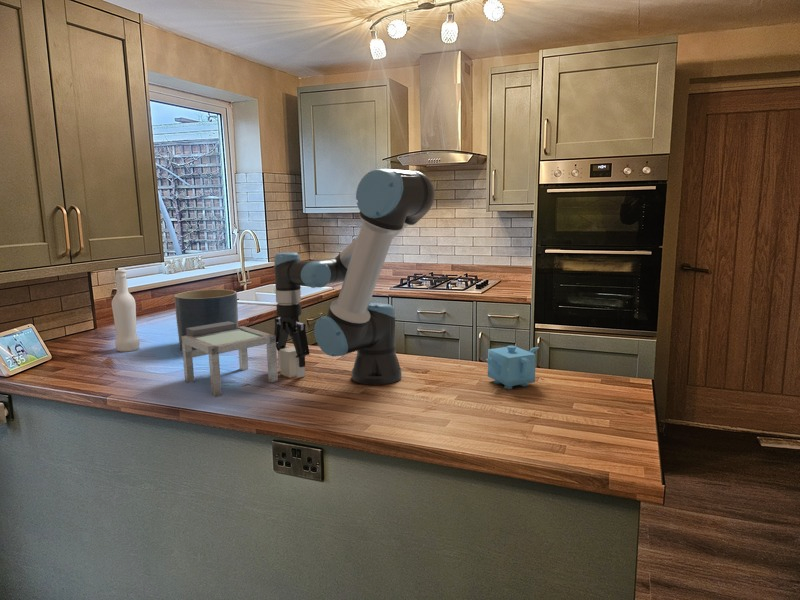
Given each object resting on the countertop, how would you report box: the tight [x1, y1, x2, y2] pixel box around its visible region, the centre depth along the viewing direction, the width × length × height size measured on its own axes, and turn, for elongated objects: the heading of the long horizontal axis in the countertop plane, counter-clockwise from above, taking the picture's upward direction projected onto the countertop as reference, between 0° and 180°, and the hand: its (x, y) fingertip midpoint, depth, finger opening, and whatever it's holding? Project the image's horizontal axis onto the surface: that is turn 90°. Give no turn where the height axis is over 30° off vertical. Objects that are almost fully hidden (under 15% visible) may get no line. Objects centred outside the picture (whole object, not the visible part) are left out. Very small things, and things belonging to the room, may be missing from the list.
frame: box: [181, 325, 279, 398], centre depth 166 cm, size 20×20×14 cm
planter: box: [173, 288, 239, 352], centre depth 210 cm, size 22×22×20 cm
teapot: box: [485, 345, 540, 390], centre depth 161 cm, size 16×18×11 cm
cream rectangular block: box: [280, 346, 297, 378], centre depth 173 cm, size 5×5×8 cm
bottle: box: [111, 268, 141, 353], centre depth 205 cm, size 8×8×30 cm
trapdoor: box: [186, 321, 261, 345], centre depth 168 cm, size 20×15×5 cm
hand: (292, 373), depth 174 cm, fingers open, 9 cm apart
